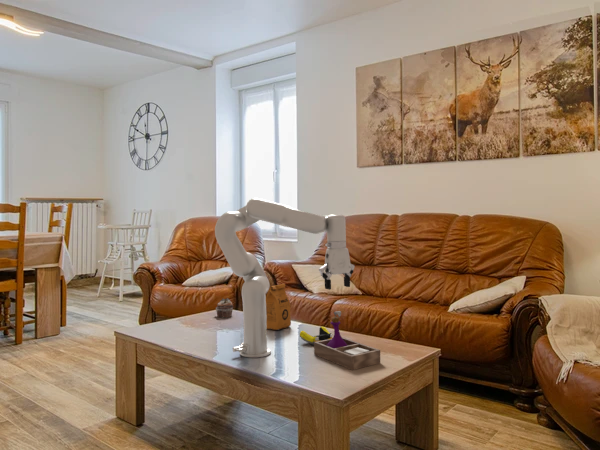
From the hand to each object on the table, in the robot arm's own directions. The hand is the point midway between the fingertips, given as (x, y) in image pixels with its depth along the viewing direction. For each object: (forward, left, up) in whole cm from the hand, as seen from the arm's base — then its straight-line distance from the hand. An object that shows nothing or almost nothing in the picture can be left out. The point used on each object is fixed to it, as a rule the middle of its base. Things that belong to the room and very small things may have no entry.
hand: (337, 287), depth 191 cm
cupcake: (-6, +97, -28) cm, 101 cm away
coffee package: (+4, +54, -28) cm, 60 cm away
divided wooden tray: (0, -5, -27) cm, 28 cm away
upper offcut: (0, -11, -25) cm, 28 cm away
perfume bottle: (0, 0, -28) cm, 28 cm away
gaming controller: (+5, +21, -28) cm, 35 cm away
